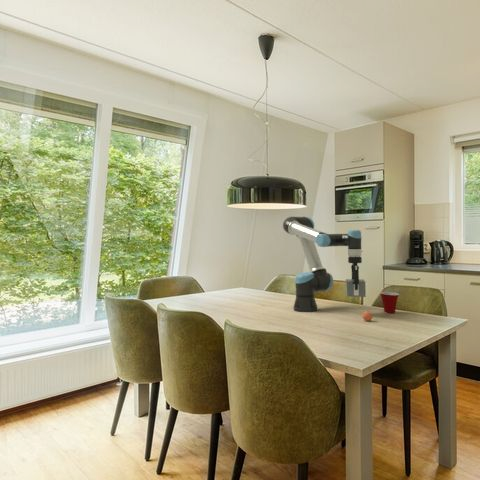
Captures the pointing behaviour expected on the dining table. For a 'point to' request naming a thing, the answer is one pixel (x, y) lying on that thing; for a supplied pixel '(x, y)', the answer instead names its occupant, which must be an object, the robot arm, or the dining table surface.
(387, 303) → the plastic cup
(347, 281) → the trap cup
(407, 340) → the dining table surface
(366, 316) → the ball
